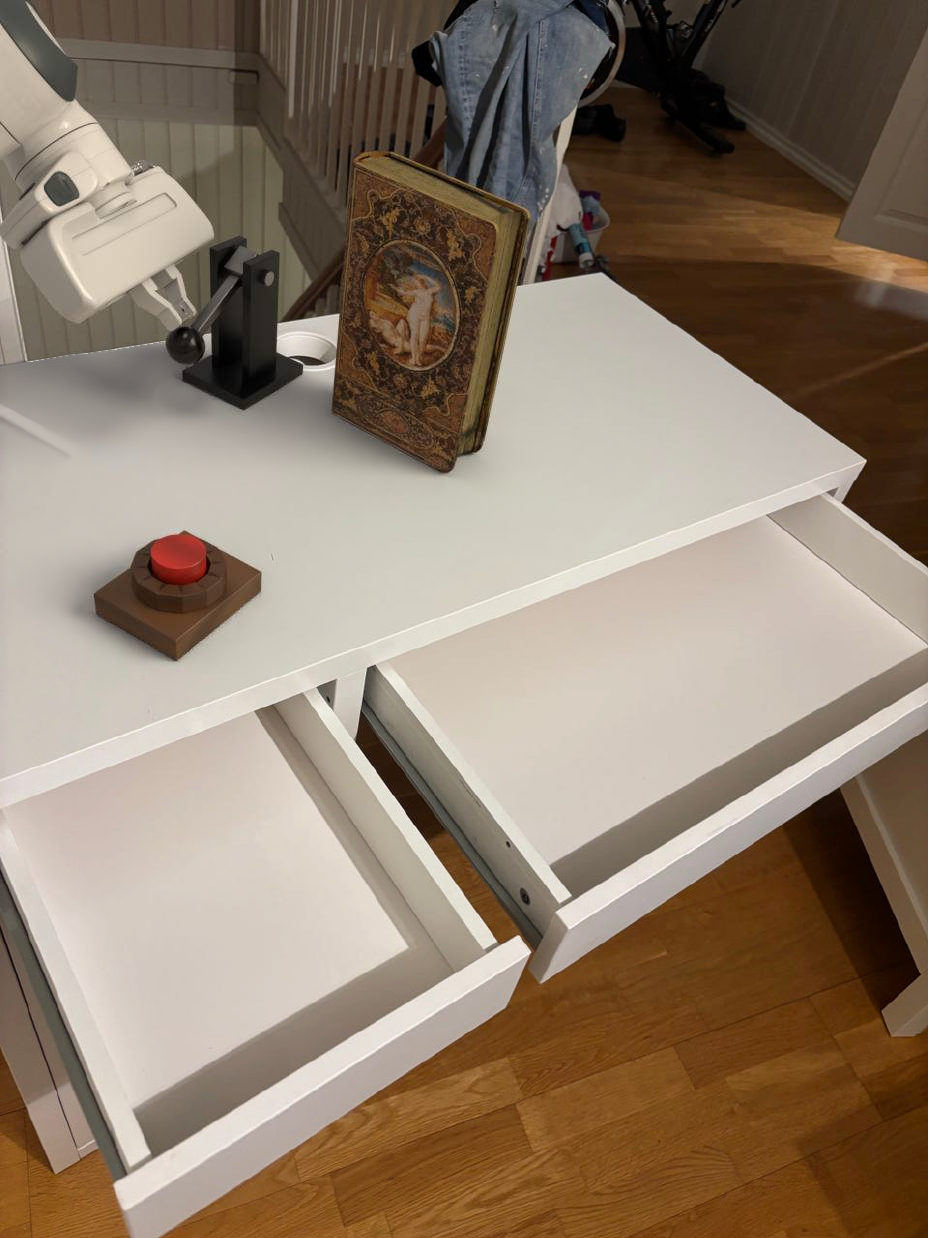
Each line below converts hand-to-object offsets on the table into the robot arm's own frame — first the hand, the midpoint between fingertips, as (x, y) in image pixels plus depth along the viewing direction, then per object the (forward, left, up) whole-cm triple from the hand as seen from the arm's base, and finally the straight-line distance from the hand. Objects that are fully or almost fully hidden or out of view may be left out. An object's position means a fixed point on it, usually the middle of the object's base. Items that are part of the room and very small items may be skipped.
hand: (184, 322), depth 88 cm
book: (+12, -18, -9) cm, 23 cm away
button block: (-21, -18, -9) cm, 30 cm away
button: (-21, -18, -6) cm, 29 cm away
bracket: (+9, 0, -9) cm, 13 cm away
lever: (+5, 0, -1) cm, 5 cm away
